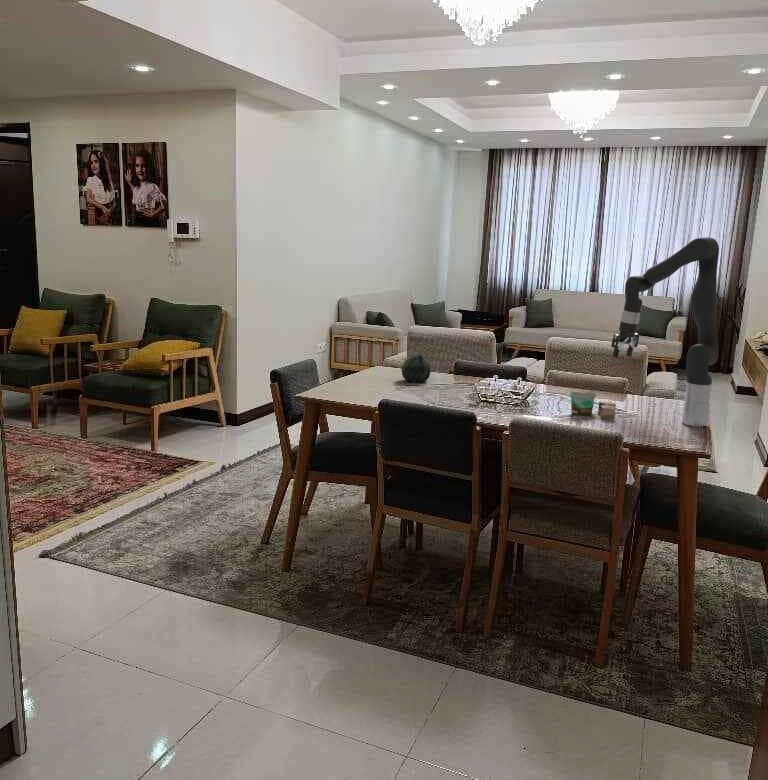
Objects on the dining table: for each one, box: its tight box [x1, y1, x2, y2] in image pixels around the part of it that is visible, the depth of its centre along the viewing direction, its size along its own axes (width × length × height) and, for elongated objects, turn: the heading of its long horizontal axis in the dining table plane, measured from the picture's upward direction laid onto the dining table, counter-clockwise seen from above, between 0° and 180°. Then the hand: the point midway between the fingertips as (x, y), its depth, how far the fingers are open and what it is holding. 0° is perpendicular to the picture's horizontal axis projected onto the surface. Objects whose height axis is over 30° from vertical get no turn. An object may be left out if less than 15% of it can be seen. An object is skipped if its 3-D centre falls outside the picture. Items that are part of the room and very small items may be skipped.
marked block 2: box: [599, 405, 616, 421], centre depth 296 cm, size 5×5×5 cm
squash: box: [401, 354, 432, 383], centre depth 365 cm, size 14×15×15 cm
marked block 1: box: [597, 400, 617, 414], centre depth 304 cm, size 5×5×5 cm
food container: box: [569, 389, 597, 417], centre depth 302 cm, size 12×6×10 cm, turn 114°
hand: (622, 356), depth 314 cm, fingers open, 8 cm apart
